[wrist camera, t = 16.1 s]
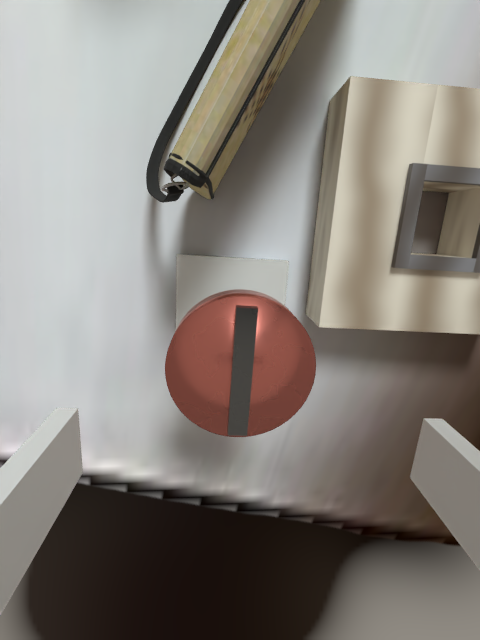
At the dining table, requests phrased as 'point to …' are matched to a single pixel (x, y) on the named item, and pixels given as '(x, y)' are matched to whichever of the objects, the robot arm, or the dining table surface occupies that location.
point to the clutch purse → (228, 94)
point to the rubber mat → (226, 278)
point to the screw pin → (240, 364)
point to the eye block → (397, 209)
